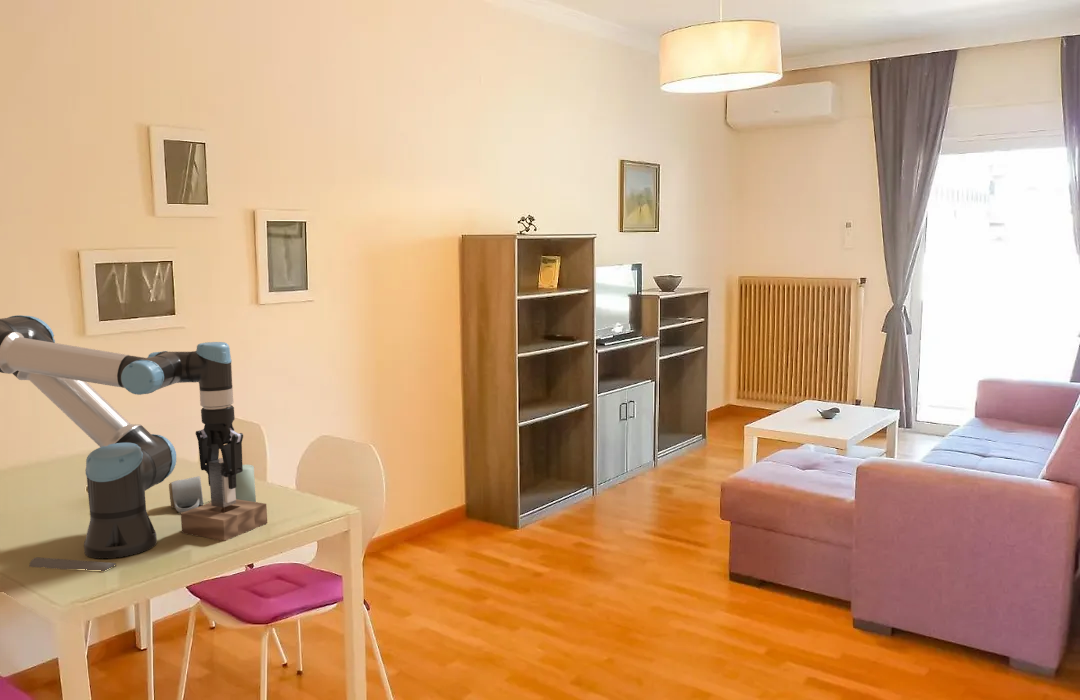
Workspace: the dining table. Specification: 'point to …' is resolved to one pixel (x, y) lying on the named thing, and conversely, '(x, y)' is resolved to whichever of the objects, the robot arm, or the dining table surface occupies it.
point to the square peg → (218, 483)
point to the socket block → (224, 519)
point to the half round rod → (69, 564)
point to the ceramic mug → (186, 494)
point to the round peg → (246, 484)
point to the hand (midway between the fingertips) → (223, 499)
